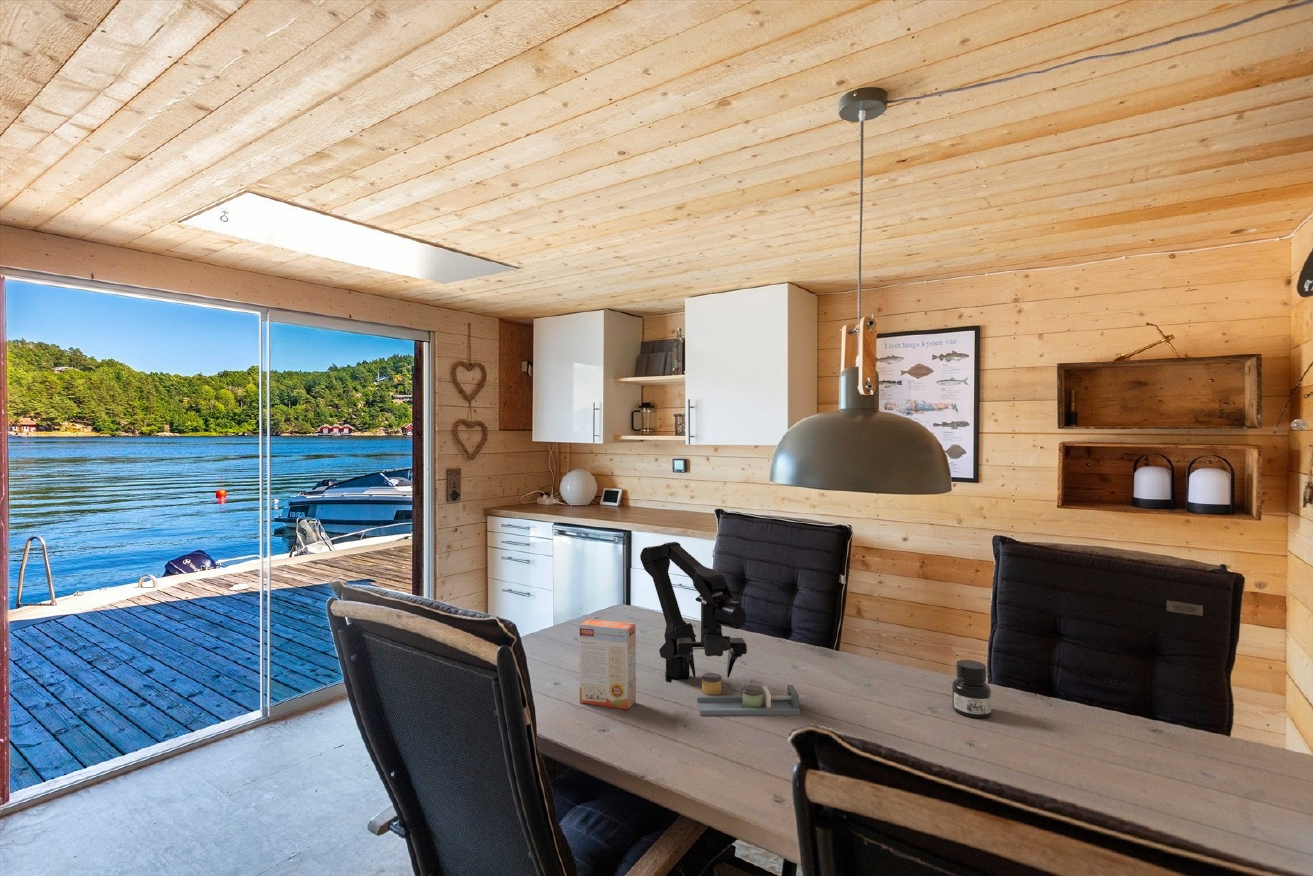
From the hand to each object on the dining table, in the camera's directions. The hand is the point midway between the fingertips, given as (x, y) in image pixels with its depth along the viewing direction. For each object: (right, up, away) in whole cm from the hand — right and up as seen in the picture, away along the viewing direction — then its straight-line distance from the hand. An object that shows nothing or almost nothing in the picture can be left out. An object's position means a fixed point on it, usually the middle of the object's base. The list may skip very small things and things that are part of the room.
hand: (711, 677), depth 169 cm
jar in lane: (+10, -4, -10) cm, 15 cm away
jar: (0, -4, 0) cm, 4 cm away
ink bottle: (+65, -5, -11) cm, 66 cm away
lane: (+8, -4, -10) cm, 14 cm away
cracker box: (-28, -5, -6) cm, 29 cm away
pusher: (+19, -3, -10) cm, 22 cm away
